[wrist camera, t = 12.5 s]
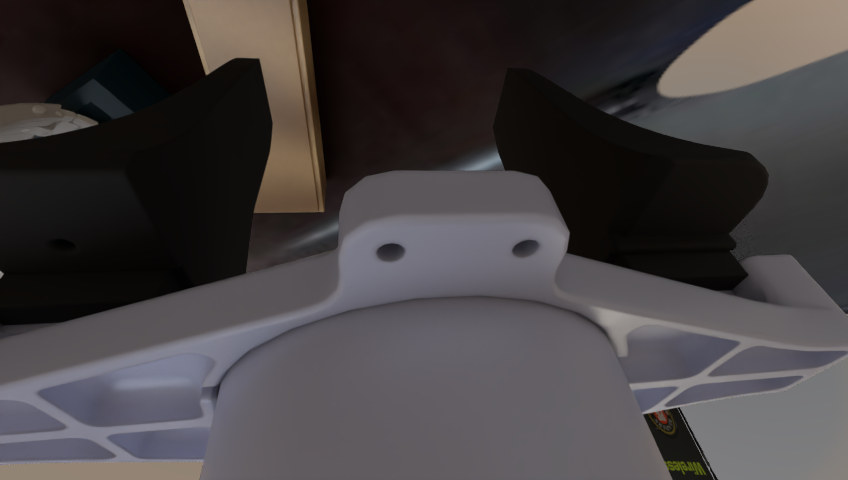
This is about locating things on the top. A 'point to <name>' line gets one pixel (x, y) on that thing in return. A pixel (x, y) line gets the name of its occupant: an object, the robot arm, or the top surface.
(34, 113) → the watch
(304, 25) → the pencil box
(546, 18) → the top surface
